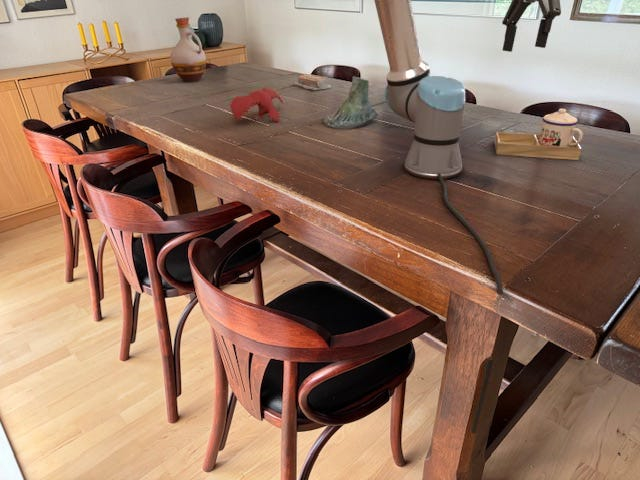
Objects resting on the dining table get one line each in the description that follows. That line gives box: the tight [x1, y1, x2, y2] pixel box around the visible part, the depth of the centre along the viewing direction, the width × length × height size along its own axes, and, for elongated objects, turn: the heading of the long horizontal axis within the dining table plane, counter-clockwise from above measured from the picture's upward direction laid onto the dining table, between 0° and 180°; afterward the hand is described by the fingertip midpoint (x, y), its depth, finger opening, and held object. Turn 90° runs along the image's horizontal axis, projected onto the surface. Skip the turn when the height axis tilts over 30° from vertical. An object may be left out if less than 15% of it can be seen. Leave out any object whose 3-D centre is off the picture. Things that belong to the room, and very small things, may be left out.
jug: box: [169, 17, 207, 83], centre depth 230 cm, size 20×18×30 cm
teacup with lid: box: [538, 108, 584, 147], centre depth 130 cm, size 12×9×12 cm
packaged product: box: [293, 73, 331, 92], centre depth 218 cm, size 18×5×10 cm
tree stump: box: [322, 76, 379, 130], centre depth 164 cm, size 18×20×18 cm
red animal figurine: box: [229, 87, 284, 123], centre depth 168 cm, size 28×9×15 cm
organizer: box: [494, 131, 583, 161], centre depth 134 cm, size 11×22×3 cm, turn 75°
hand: (522, 49), depth 124 cm, fingers open, 13 cm apart
